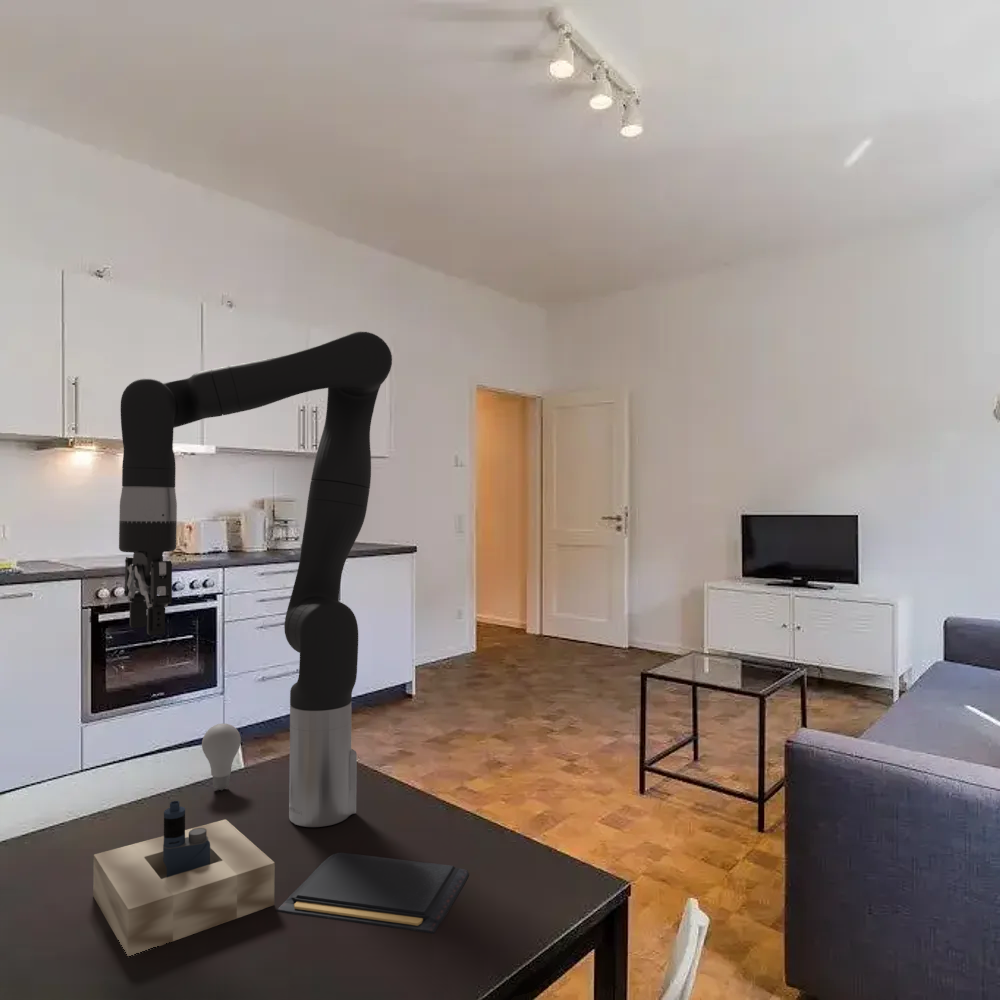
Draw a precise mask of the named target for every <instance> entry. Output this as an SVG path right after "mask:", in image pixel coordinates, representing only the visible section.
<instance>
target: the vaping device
mask: <svg viewBox="0 0 1000 1000" xmlns="http://www.w3.org/2000/svg"><path fill="white" fill-rule="evenodd" d="M185 830H186V808H185V806H180V801H179V800H173V801H171V802H169V807H168V808H166V809H165V810H164V811H163V836H164V844H163V862H164V863H165V865H166V868H167V877H170V876H173V875H177V874H180V873H183V872H186V871H190V870H193V869H196V868H200V867H203V866H206V865H210V842H209V840H208V837H207V836H206V835H207V830H206V829H205V828H196V829H193V830H191V831H190V832H189V837H186V838H185Z"/></svg>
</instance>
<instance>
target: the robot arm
mask: <svg viewBox="0 0 1000 1000" xmlns="http://www.w3.org/2000/svg"><path fill="white" fill-rule="evenodd" d="M392 364H393V355H392V352H391V349H390V347H389V346H388V344H387V343H386V342H385V340H384V339H383V338H381V337H380V336H378V335H376V334H375V333H373V332H369V331H356V332H352V333H349V334H346V335H343V336H341V337H339V338H336V339H333V340H330V341H327V342H325V343H321V344H319V345H316V346H312V347H310V348H307V349H303V350H299V351H296V352H292V353H288V354H285V355H284V354H283V355H280V356H276V357H269V358H265V359H260V360H254V361H249V362H243V363H237V364H236V363H235V364H233V365H225V366H222V367H221V366H220V367H215V368H210V369H205V370H201V371H198V372H196V373H194V374H192V375H191V376H190V377H187V378H183V379H176V380H173V381H167V382H162V381H160V380H157V379H154V378H150V377H149V378H148V377H147V378H139V379H136V380H134V381H132V382H131V383H129V384H128V385H127V386H126V388H124V390H123V392H122V395H121V398H120V424H121V426H120V427H121V437H122V446H123V457H122V466H121V467H122V468H121V475H122V476H121V493H120V500H119V521H118V524H119V526H118V528H119V529H118V530H119V531H118V532H119V533H118V549H119V551H120V552H122V553H133V555H132V556H126V557H125V559H124V562H125V564H124V565H125V568H124V590H123V594H124V597H127V602H129V627H131V628H132V629H135V628H136V629H137V628H145V627H146V634H147V635H149V636H158V635H159V636H160V635H163V634H164V633H165V632H166V608H167V607H168V605H169V604H172V602H173V563H172V561H171V560H164V555H163V553H165V552H169V553H170V552H174V551H175V550H176V549H177V526H178V525H177V521H178V518H177V516H178V515H177V514H178V513H177V511H178V509H177V508H178V502H177V496H176V495H177V493H176V457H175V453H174V449H173V448H174V447H173V446H174V429H175V428H178V427H181V426H185V425H187V424H191V423H194V422H197V421H200V420H201V421H202V420H204V419H209V418H215V417H216V418H217V417H222V416H228V415H231V414H237V413H242V412H245V411H250V410H254V409H259V408H261V407H264V406H267V405H271V404H273V403H277V402H279V401H281V400H285V399H288V398H292V397H293V396H297V395H301V394H304V393H309V392H313V391H318V390H323V389H327V401H326V413H325V421H324V426H323V430H322V435H321V437H320V440H319V444H318V447H317V451H316V456H315V460H314V465H313V469H312V474H311V477H310V484H309V491H308V496H307V497H308V498H307V504H306V505H307V506H306V515H305V521H304V526H303V527H304V528H303V534H302V541H301V549H300V554H299V555H300V556H299V562H298V563H299V564H298V566H297V567H298V569H297V571H296V576H295V580H294V583H293V587H292V591H291V595H290V599H289V602H288V604H287V610H286V614H285V617H284V623H283V624H284V634H285V639H286V640H287V643H288V644H289V645H290V648H292V649H293V650H294V651H296V652H297V653H299V664H298V665H299V667H298V669H299V670H298V678H297V681H296V682H295V683H293V685H291V688H290V690H289V693H290V694H289V781H288V782H289V788H288V790H289V792H288V793H289V794H288V795H289V796H288V797H289V798H288V799H289V800H288V808H289V809H288V811H289V812H288V818H289V821H290V822H291V823H292V824H294V825H295V826H296V825H297V826H300V827H306V828H320V827H321V828H322V827H327V826H328V827H329V826H332V825H336V824H339V823H342V822H344V821H345V820H347V819H348V818H349V817H350V816H351V815H354V814H356V813H357V767H358V766H357V763H358V762H357V755H358V754H357V751H356V750H355V749H352V703H353V702H352V698H353V695H352V694H353V689H354V687H355V685H356V682H357V677H358V676H357V675H358V659H359V658H358V655H359V654H358V653H359V627H358V626H359V624H358V622H357V617H356V615H355V613H354V612H353V610H352V608H350V607H349V606H348V605H346V604H344V603H343V602H341V601H339V600H340V590H341V589H340V588H341V581H342V575H343V570H344V566H345V563H346V560H347V559H348V556H349V555H350V552H351V551H352V548H353V546H354V544H355V542H356V541H357V538H358V536H359V535H360V532H361V530H362V527H363V525H364V521H365V519H366V513H367V509H368V504H369V497H370V496H369V495H370V488H371V480H372V477H371V476H372V459H371V458H372V453H371V452H372V451H371V425H372V420H373V419H372V418H373V414H374V409H375V405H376V402H377V398H378V394H379V391H380V388H381V386H382V384H383V383H384V382H385V381H386V380H387V378H388V376H389V374H390V372H391V369H392V367H393V366H392Z"/></svg>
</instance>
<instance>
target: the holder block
mask: <svg viewBox="0 0 1000 1000" xmlns="http://www.w3.org/2000/svg"><path fill="white" fill-rule="evenodd" d="M196 828H205V829H206V830H207V835H206V836H207V837H208V840H209V842H210V865H206V866H203V867H200V868H196V869H193V870H190V871H186V872H183V873H180V874H177V875H173V876H170V877H167V868H166V865H165V863H164V862H163V844H164V835H162V836H158V837H153V838H151V839H147V840H144V841H140V842H135V843H132V844H129V845H124V846H121V847H117V848H112V849H109V850H106V851H102V852H98V853H95V854H93V881H92V882H93V883H92V884H93V886H92V887H93V890H92V896H93V898H94V900H95V902H96V904H97V905H98V907H99V909H100V911H101V912H102V914H103V916H104V917H105V920H106V922H107V923H108V925H109V927H110V928H111V930H112V932H113V933H114V935H115V937H116V939H117V941H118V940H119V941H118V943H119V942H120V943H119V944H120V946H121V945H122V946H121V948H122V947H123V948H122V950H123V949H124V950H125V951H124V950H123V951H124V953H125V952H126V953H125V955H126V954H127V955H126V956H131V955H133V956H135V955H134V954H136V953H139V954H141V953H140V952H142V951H145V950H147V951H149V950H148V949H150V948H153V947H156V948H158V947H157V946H159V947H161V946H165V945H167V944H170V943H171V942H172V943H173V942H175V941H177V940H180V939H183V938H186V937H189V936H191V935H193V934H197V933H201V932H202V931H207V930H209V929H211V928H214V927H217V926H220V925H222V924H225V923H228V922H231V921H234V920H237V919H239V918H242V917H245V916H247V915H250V914H253V913H256V912H259V911H261V910H264V909H266V908H269V907H273V906H275V872H276V871H275V870H276V869H275V868H276V866H275V865H276V864H275V861H274V860H272V859H271V858H270V857H269V856H268V855H267V854H266V853H264V851H262V850H261V849H260V848H259V847H257V845H256V844H254V843H253V842H252V841H251V840H250V839H249V838H247V836H245V835H244V834H243V833H242V832H241V831H239V830H238V829H237V828H236V827H235V826H234V825H233V824H232V823H231V822H229V821H228V820H227V819H222V820H218V821H214V822H210V823H207V824H204V825H199V826H195V827H192V828H188V829H185V838H186V837H189V832H190V831H191V830H193V829H196ZM169 942H170V943H169ZM166 943H167V944H166ZM153 949H154V948H153ZM150 950H151V949H150ZM145 952H146V951H145ZM142 953H143V952H142ZM136 955H137V954H136ZM131 957H132V956H131Z"/></svg>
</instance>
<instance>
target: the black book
mask: <svg viewBox="0 0 1000 1000" xmlns="http://www.w3.org/2000/svg"><path fill="white" fill-rule="evenodd" d="M469 874H470V873H469V871H468V870H467V869H464V868H459V867H455V866H454V865H448V864H441V863H434V862H433V863H432V862H424V861H415V860H407V859H399V858H391V857H390V858H389V857H383V856H374V855H372V856H371V855H367V854H365V855H363V854H358V853H357V854H356V853H348V852H340V851H339V852H337V853H333V854H331V855H330V856H328V857H327V858H326V859H325V860H323V862H321V864H319V866H317V868H316V869H315V870H314V871H313V872H312V873H311V874H310V875H309V876H307V878H306V879H305V880H304V881H303V882H302V883H301V885H299V886H298V887H297V888H296V889H295V890H294V891H293V892H292V893H291V894H290V895H289V896H288V897H287V898H286V899H285V901H283V902H282V904H281V905H280V906H279V907H278V908H277V909H276V910H275V912H278V913H283V914H288V915H296V916H306V917H312V918H319V919H320V918H321V919H328V920H335V921H342V922H348V923H356V924H362V925H363V924H364V925H370V926H377V927H384V928H389V929H390V928H391V929H399V930H406V931H413V932H420V933H427V934H435V933H436V931H437V929H438V928H439V926H440V924H441V923H442V922H443V921H444V919H445V918H446V916H447V914H448V913H449V911H450V909H451V908H452V906H453V904H454V902H455V900H456V899H457V897H458V896H459V894H460V892H461V891H462V888H463V887H464V885H465V883H466V882H467V880H468V878H469V876H470V875H469Z"/></svg>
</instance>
